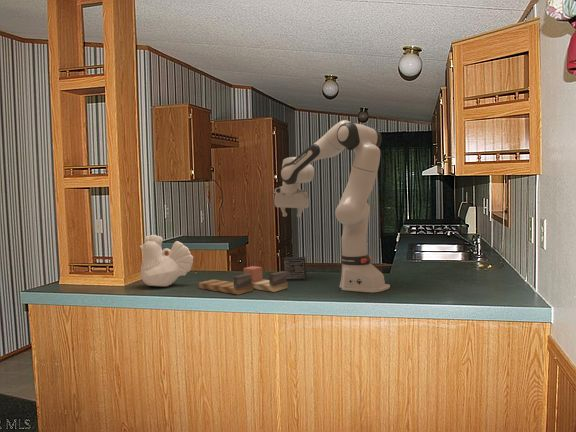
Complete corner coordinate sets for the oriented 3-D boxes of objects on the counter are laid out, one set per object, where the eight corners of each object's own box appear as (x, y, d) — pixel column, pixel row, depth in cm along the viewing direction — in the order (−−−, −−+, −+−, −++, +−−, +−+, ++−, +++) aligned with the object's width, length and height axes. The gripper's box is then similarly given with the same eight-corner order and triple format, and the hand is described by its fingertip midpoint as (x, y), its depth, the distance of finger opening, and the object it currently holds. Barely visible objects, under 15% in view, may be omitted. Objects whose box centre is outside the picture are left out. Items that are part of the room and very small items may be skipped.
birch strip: (287, 288, 250) (286, 271, 250) (274, 291, 243) (273, 274, 243) (246, 282, 267) (246, 266, 267) (233, 285, 260) (232, 269, 260)
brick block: (262, 280, 258) (261, 267, 258) (253, 282, 254) (252, 269, 253) (253, 278, 262) (252, 266, 261) (244, 281, 257) (243, 268, 257)
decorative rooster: (135, 289, 262) (131, 237, 260) (151, 282, 277) (147, 232, 275) (185, 290, 256) (181, 236, 254) (198, 282, 271) (195, 232, 269)
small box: (306, 277, 274) (306, 256, 273) (305, 280, 268) (305, 258, 267) (285, 277, 275) (284, 256, 274) (284, 280, 269) (283, 259, 268)
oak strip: (252, 290, 248) (251, 273, 247) (238, 294, 241) (237, 277, 240) (213, 284, 265) (212, 268, 264) (199, 288, 258) (198, 272, 258)
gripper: (311, 189, 276) (312, 217, 277) (280, 188, 289) (281, 215, 291) (303, 189, 271) (304, 218, 273) (272, 189, 285) (273, 216, 286)
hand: (292, 216), depth 282 cm, fingers open, 8 cm apart
